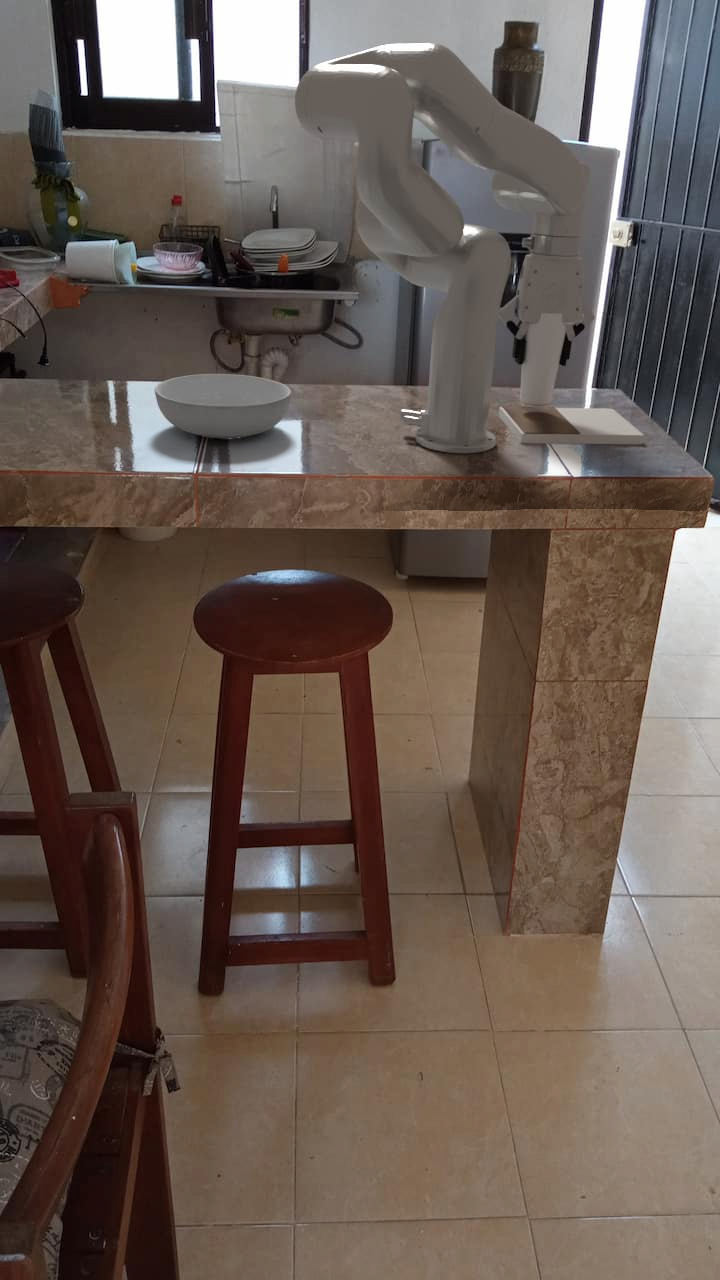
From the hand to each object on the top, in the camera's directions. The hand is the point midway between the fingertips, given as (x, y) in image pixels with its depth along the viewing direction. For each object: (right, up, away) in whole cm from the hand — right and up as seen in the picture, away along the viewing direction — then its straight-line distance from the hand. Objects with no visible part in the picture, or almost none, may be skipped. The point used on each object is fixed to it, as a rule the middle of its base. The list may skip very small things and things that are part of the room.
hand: (540, 362), depth 164 cm
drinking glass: (0, -6, +3) cm, 7 cm away
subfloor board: (+5, -11, +2) cm, 12 cm away
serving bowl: (-51, -13, -6) cm, 53 cm away
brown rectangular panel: (0, -11, +1) cm, 11 cm away
